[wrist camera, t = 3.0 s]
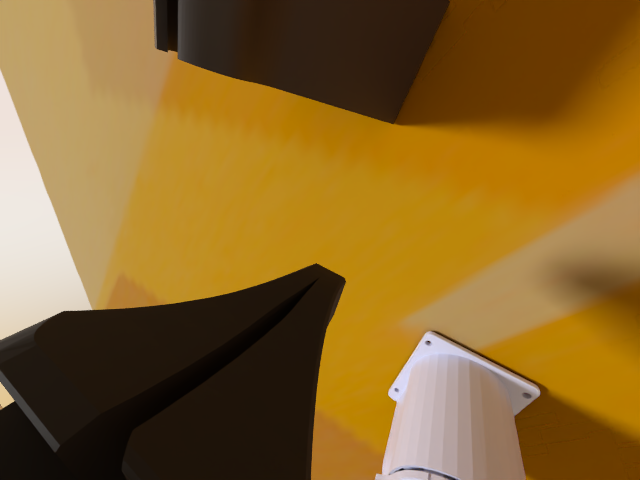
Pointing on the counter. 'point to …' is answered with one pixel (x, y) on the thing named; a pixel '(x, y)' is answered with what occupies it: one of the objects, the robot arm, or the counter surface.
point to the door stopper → (308, 45)
